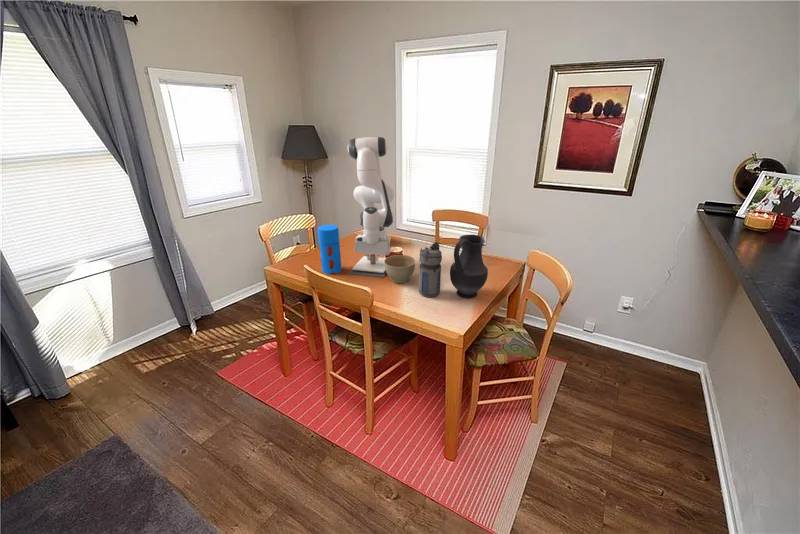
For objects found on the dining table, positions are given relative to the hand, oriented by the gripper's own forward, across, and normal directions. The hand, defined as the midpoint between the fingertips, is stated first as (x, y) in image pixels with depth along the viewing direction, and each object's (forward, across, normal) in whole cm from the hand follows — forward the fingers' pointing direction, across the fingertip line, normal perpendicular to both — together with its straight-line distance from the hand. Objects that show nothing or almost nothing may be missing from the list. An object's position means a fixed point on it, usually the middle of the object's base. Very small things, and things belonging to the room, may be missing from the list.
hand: (373, 260), depth 194 cm
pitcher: (+4, -53, +21) cm, 57 cm away
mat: (+4, 0, +1) cm, 4 cm away
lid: (+2, 0, 0) cm, 2 cm away
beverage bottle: (+4, -37, +22) cm, 43 cm away
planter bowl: (+4, -19, +12) cm, 23 cm away
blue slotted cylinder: (+4, +21, +9) cm, 24 cm away
